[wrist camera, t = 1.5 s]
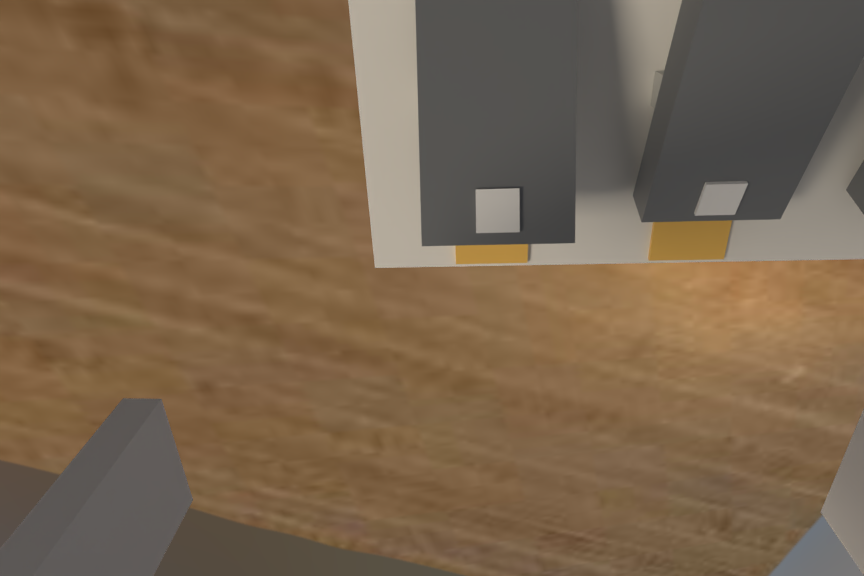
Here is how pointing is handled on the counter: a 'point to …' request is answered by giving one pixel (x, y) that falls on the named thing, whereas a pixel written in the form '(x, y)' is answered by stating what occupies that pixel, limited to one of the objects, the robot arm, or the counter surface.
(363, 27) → the switch unit
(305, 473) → the counter surface
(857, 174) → the block
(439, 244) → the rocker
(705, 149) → the block
